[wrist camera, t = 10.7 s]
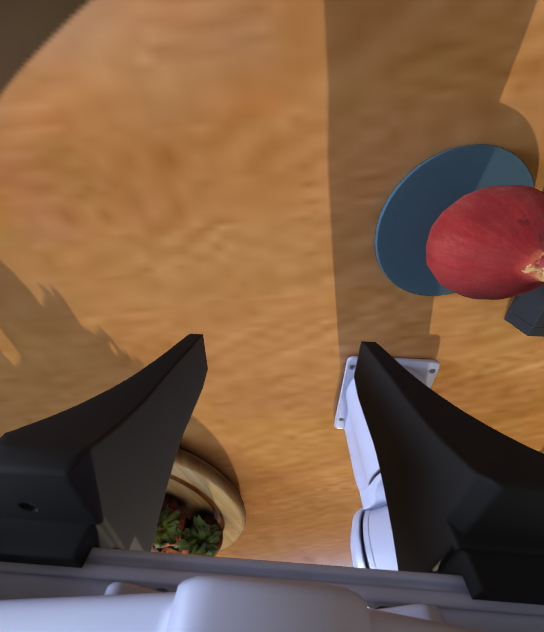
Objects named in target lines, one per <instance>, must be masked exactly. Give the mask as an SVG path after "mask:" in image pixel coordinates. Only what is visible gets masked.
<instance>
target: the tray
mask: <svg viewBox="0 0 544 632" xmlns="http://www.w3.org/2000/svg"><path fill="white" fill-rule="evenodd" d="M504 319H505V320H506V321H508V322H509V323H510V324H512V325H513V326H515V327H516V328H517V329H519V330H520V331H522V332H523V333H524V334H526V335H527V336H544V285H542V286H540V287H538V288H536V289H534V290H532V291H529V292H526V293H523V294H521V295H517V296H516V298H515V300H514V301H513V303H512V305H511V307H510V309H509V311H508V313H507V314H506V316H505V318H504Z"/></svg>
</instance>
